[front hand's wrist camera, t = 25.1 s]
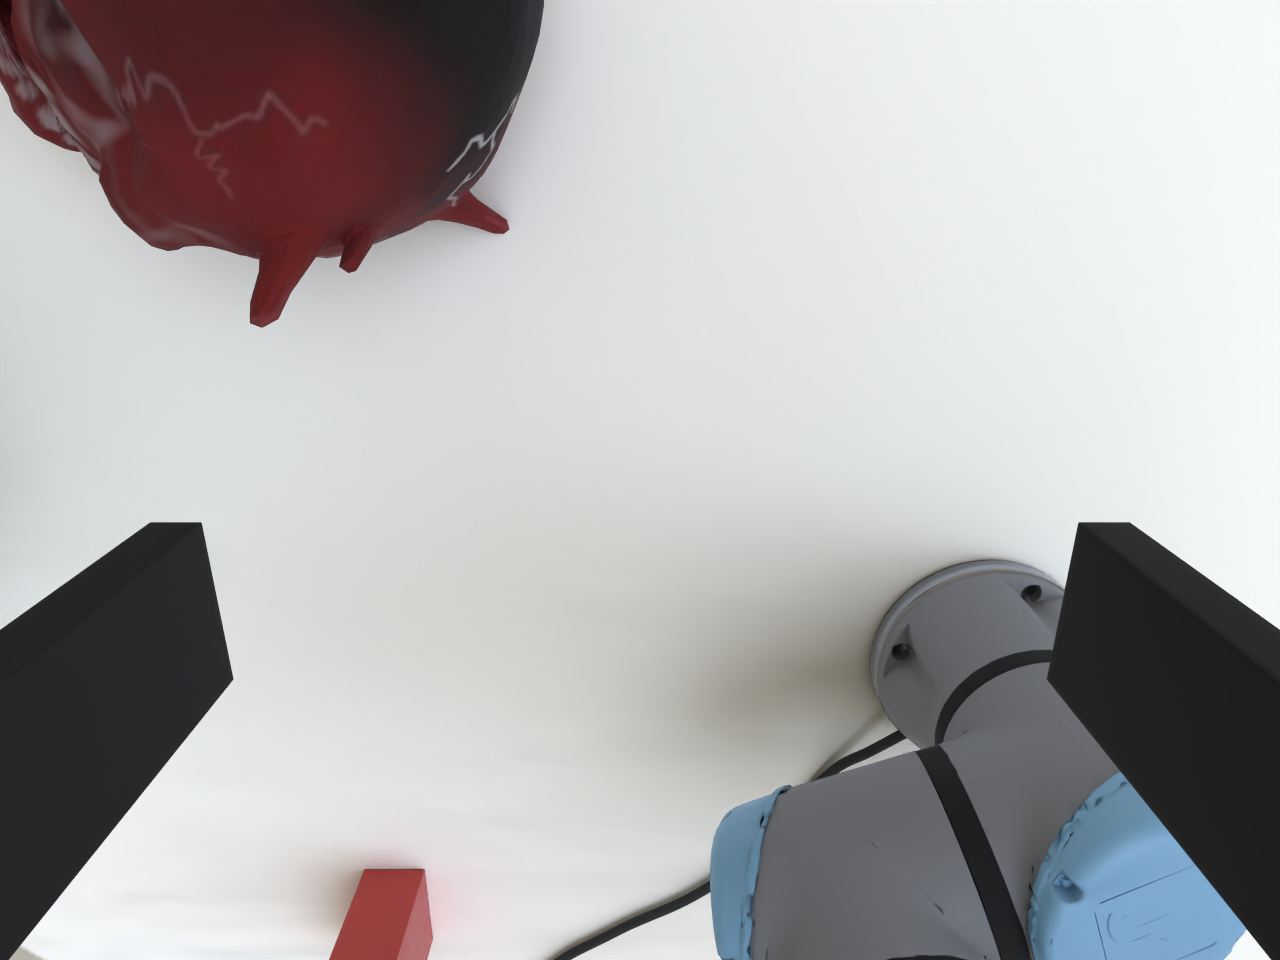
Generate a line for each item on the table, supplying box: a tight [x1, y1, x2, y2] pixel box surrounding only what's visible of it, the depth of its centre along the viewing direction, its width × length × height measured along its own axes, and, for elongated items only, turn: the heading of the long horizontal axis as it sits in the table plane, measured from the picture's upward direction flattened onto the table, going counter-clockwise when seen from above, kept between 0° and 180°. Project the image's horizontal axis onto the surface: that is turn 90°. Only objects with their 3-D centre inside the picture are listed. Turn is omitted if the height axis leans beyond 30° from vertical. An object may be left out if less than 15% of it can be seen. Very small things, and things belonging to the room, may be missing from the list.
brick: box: [329, 870, 433, 960], centre depth 64 cm, size 5×8×9 cm, turn 0°
